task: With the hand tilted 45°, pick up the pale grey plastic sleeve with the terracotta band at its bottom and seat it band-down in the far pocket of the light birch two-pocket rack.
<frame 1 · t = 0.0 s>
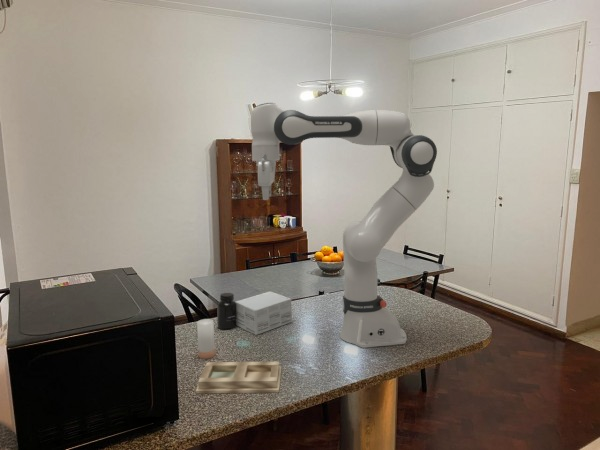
hand: (267, 198, 144), 48 cm above the countertop, tool pointing down, fingers open, 8 cm apart
supplement box: (263, 324, 164), on the countertop, touching supplement bottle
two-pocket rack: (240, 380, 123), on the countertop
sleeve: (207, 355, 139), on the countertop
supplement bottle: (226, 326, 162), on the countertop, touching supplement box
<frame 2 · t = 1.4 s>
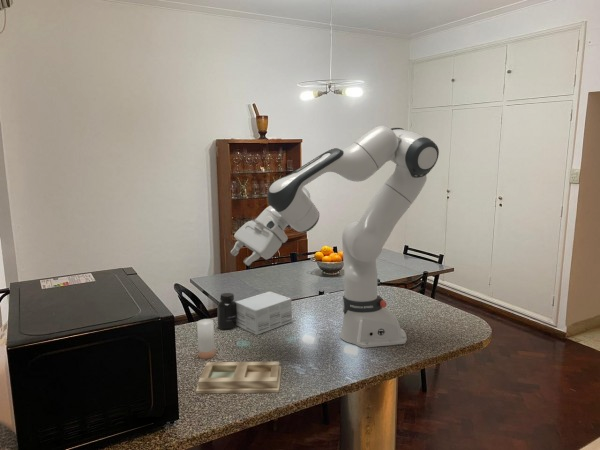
hand: (238, 259, 135), 31 cm above the countertop, tool tilted 45°, fingers open, 8 cm apart
nothing on the countertop moved.
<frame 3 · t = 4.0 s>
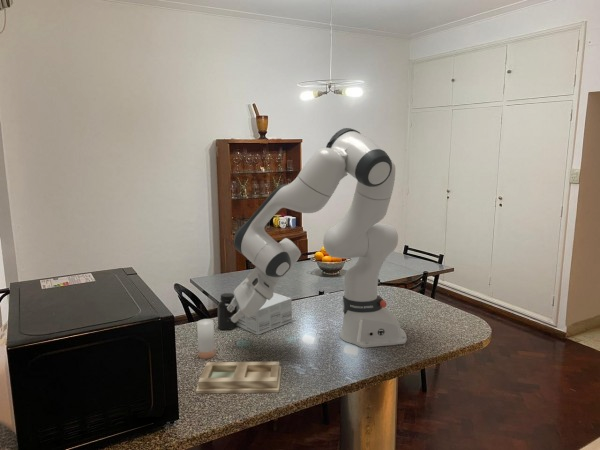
hand: (230, 315, 138), 13 cm above the countertop, tool tilted 45°, fingers open, 8 cm apart
nothing on the countertop moved.
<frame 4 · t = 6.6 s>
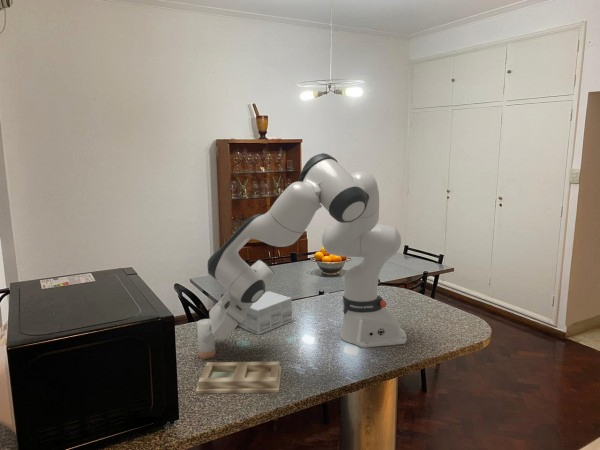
hand: (204, 337, 138), 6 cm above the countertop, tool tilted 45°, fingers closed on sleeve, 5 cm apart
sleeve: (207, 355, 139), on the countertop, touching gripper
everything else where it was.
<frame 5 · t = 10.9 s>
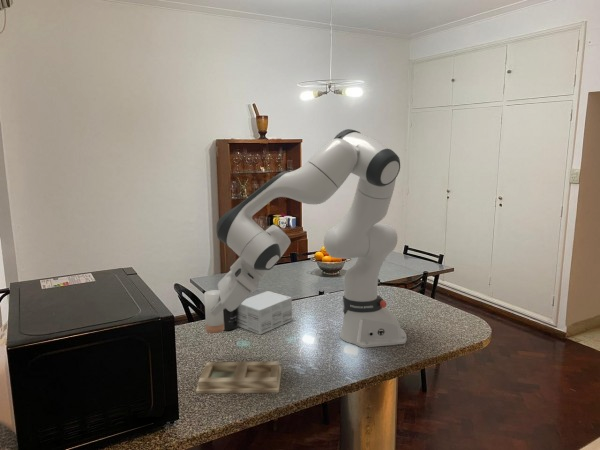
hand: (212, 310, 125), 19 cm above the countertop, tool tilted 45°, fingers closed on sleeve, 5 cm apart
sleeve: (215, 329, 126), point 13 cm above the countertop, touching gripper
when the fingers open (8 cm above the countertop, at t = 15.0 s): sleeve drops 1 cm, resting on two-pocket rack.
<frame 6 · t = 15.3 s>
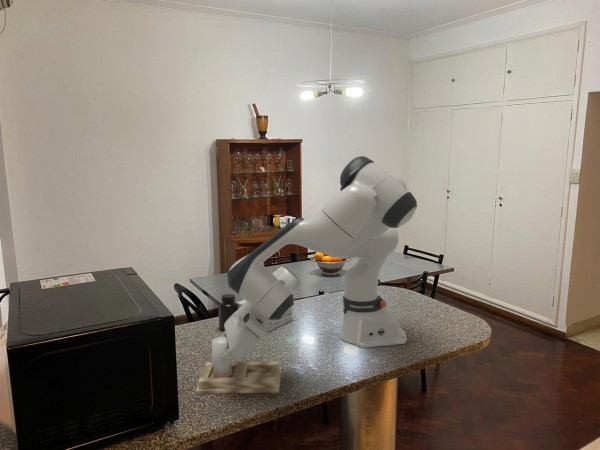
hand: (219, 353, 122), 8 cm above the countertop, tool tilted 45°, fingers open, 8 cm apart
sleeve: (222, 377, 123), point 1 cm above the countertop, touching two-pocket rack
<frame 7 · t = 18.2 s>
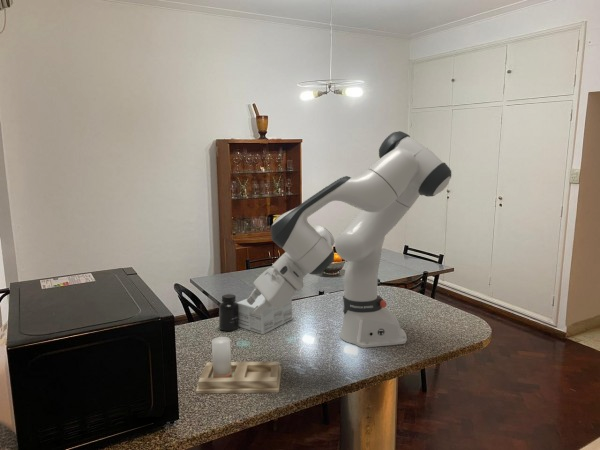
hand: (251, 307, 122), 20 cm above the countertop, tool tilted 50°, fingers open, 8 cm apart
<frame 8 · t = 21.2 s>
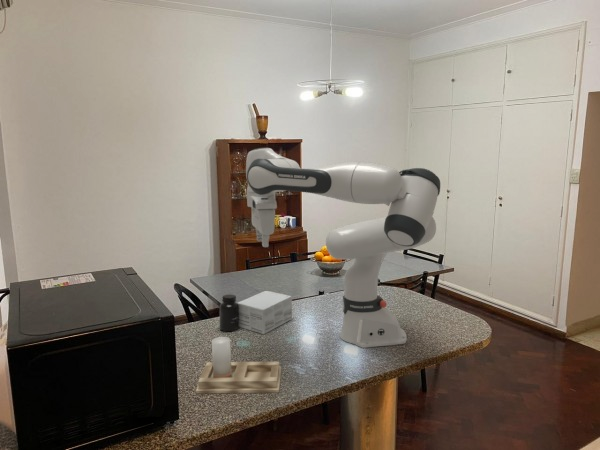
hand: (262, 243, 140), 34 cm above the countertop, tool pointing down, fingers open, 8 cm apart
at the end: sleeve 0.1 cm from the target spot on the two-pocket rack, point 0.9 cm above the two-pocket rack's base; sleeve tilted 0°; the gripper is holding nothing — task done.
